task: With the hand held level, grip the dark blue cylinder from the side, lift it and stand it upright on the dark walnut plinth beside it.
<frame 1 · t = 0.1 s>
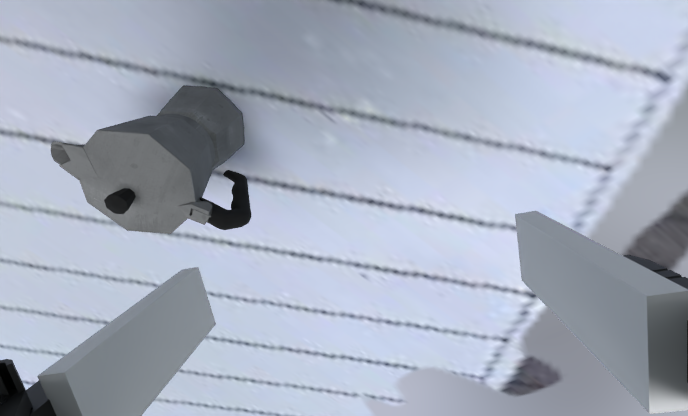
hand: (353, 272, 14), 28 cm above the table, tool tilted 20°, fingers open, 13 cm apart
coffeepot: (216, 128, 40), on the table
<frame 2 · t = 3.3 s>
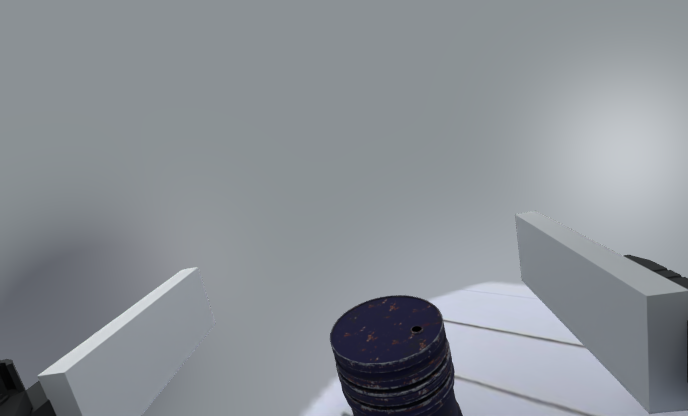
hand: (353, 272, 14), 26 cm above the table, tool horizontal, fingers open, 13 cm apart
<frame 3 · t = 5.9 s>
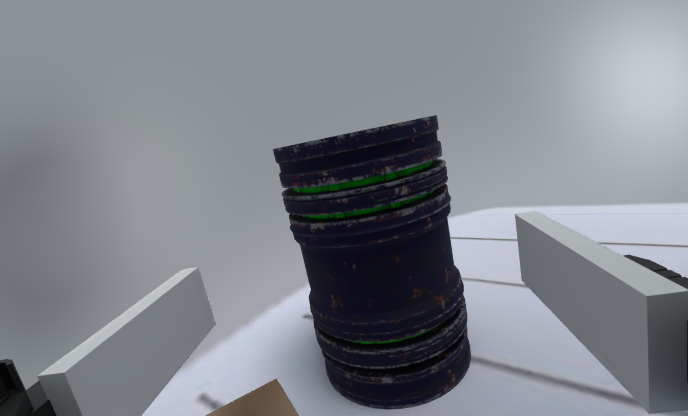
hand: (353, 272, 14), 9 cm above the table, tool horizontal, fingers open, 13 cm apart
dark blue cylinder: (396, 355, 24), on the table
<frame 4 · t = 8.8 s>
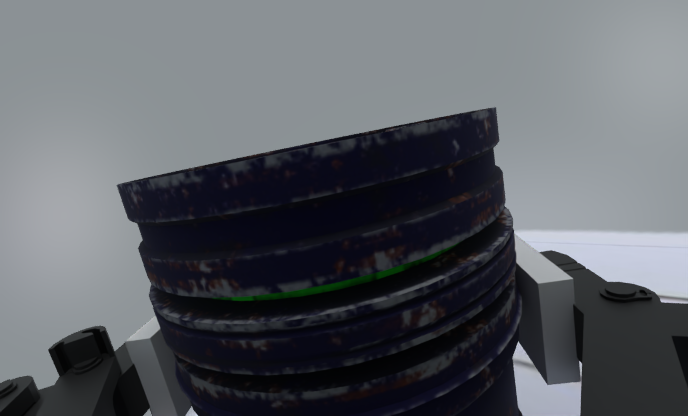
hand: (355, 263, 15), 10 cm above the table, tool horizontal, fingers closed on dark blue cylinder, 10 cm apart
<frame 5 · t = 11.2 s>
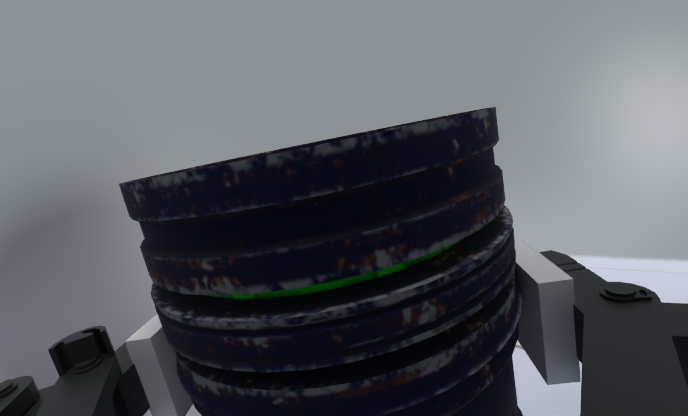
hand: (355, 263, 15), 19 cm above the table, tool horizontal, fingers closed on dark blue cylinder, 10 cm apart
when the fingers open (13 cm above the table, at t = 13.5 s): dark blue cylinder drops 1 cm, resting on walnut plinth.
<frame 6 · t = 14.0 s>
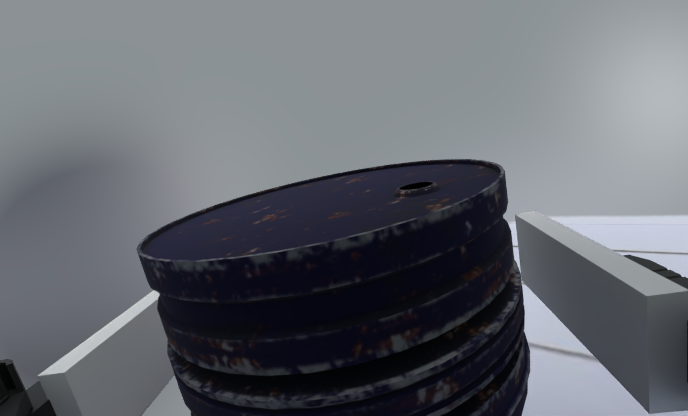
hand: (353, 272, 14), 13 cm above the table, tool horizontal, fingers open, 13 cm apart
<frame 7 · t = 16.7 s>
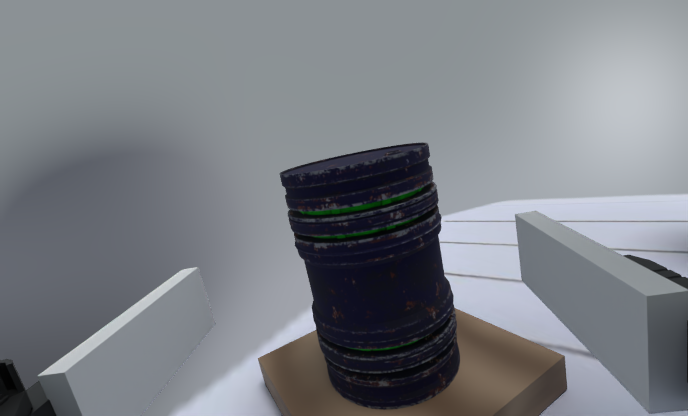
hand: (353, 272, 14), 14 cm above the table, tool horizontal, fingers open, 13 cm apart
walnut plinth: (397, 386, 26), on the table
dark blue cylinder: (392, 360, 26), point 2 cm above the table, touching walnut plinth
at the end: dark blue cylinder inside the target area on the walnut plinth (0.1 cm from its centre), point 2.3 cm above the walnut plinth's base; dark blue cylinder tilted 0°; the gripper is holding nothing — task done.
